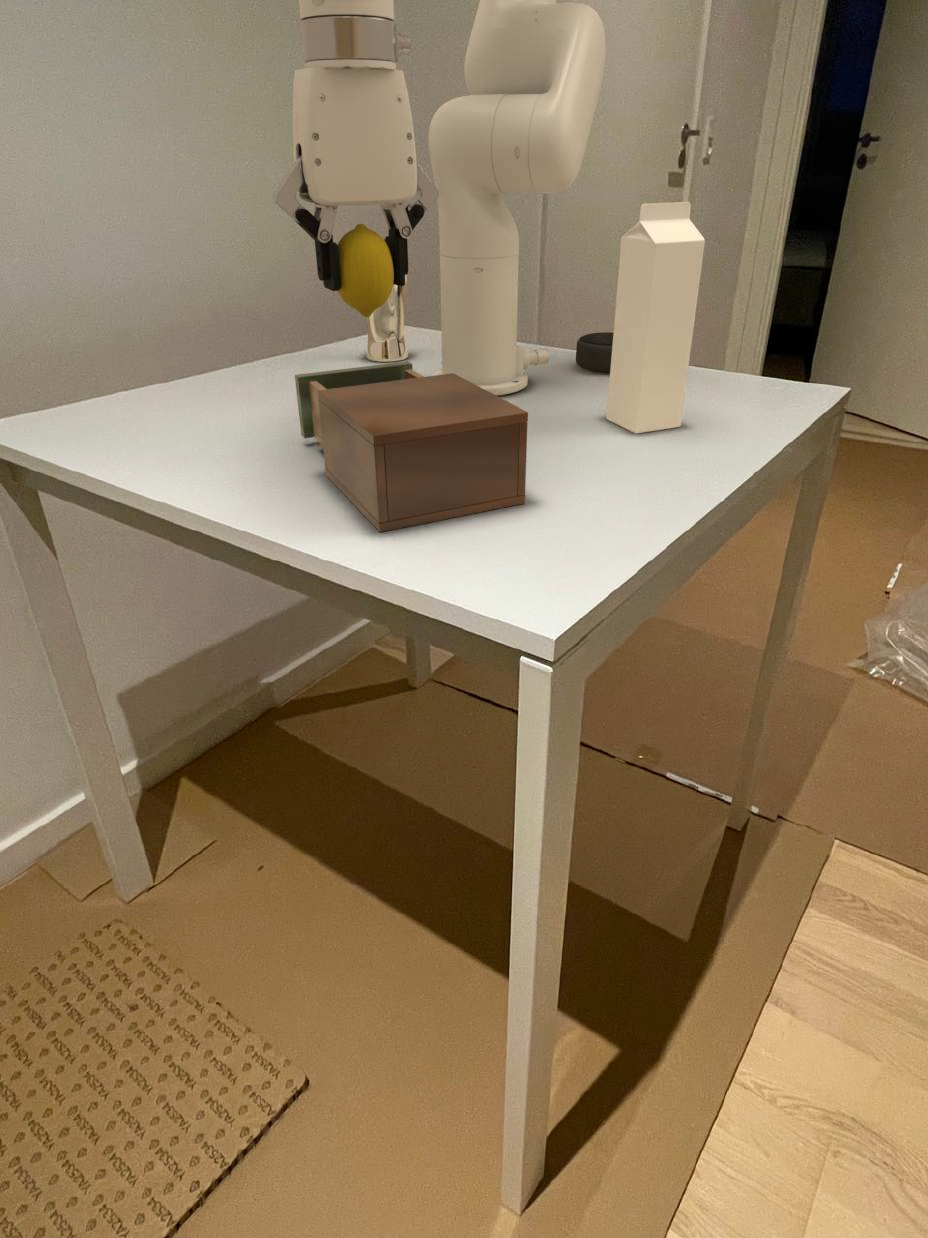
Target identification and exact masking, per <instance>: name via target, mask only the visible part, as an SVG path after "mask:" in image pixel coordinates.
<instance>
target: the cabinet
mask: <svg viewBox="0 0 928 1238" xmlns="http://www.w3.org/2000/svg"><path fill="white" fill-rule="evenodd" d="M318 399H319V410H320V420H321V430H322V440H323V446H322V449H323V460H324V467H325V469H324V471H325V476H326V477H327V478H328V479H329V481H331V482H332V483H333V484H334V486H335V487H336V488H337V489H338V490H339V491H340V492H341V493H342V494H343V495H344V496H345V497H346V498H347V499H348V500H349V501H350V503H352V504H353V506H354V507H355V508H356V509H357V510H358V511H359V512H360V513H361V514H362V516H364V517H365V519H367V520H368V521H369V523H370V524H371V525H372V526H373V527H374V528H375V529H376V530H377V531H378V532H379V533H384V532H388V531H393V530H398V529H403V528H409V527H413V526H418V525H419V526H420V525H424V524H429V523H433V522H438V521H444V520H448V519H454V518H458V517H459V518H460V517H463V516H468V515H474V514H479V513H483V512H489V511H493V510H499V509H504V508H509V507H513V506H518V505H522V504H523V505H525V504H526V481H527V480H526V478H527V477H526V476H527V449H528V422H529V411H527V410H525V409H523V408H521V407H519V406H516V405H515V404H513V403H511V402H509V401H507V400H505V399H504V398H502V397H500V396H499V395H497V396H496V395H494V394H492V393H490V392H488V391H486V390H484V389H482V388H481V387H479V386H477V385H475V384H473V383H471V382H469V381H467V380H465V379H463V378H461V377H460V376H458V375H456V374H454V373H451V374H443V375H435V376H431V375H429V376H428V375H427V376H424V377H420V378H412V379H404V380H396V381H388V382H380V383H372V384H364V385H356V386H349V387H341V388H333V389H325V390H318Z"/></svg>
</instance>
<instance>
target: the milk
mask: <svg viewBox="0 0 928 1238" xmlns="http://www.w3.org/2000/svg"><path fill="white" fill-rule="evenodd" d="M639 208H640V209H639V218H638V221H637V222H636V224H634V225H633V226H632V227H631V228H630V229H629V230H628V231H626V233H624V234H623V235H622V237H621V239H620V248H619V249H620V250H619V262H618V274H617V287H616V297H615V299H616V300H615V311H614V321H613V332H612V333H613V345H612V357H611V369H610V374H609V382H608V396H607V406H606V420H608V421H610V422H612V423H613V424H616V425H617V426H619V427H621V428H623V429H626V430H627V431H629V432H632V433H633V434H642V433H650V432H654V431H662V430H668V429H673V428H674V429H675V428H680V427H681V426H682V418H683V411H684V404H685V396H686V388H687V382H688V381H687V379H688V374H689V366H690V357H691V349H692V342H693V336H694V329H695V328H694V327H695V319H696V313H697V306H698V305H697V304H698V297H699V289H700V281H701V275H702V266H703V259H704V251H705V243H706V240H705V238H704V236H703V235H702V234H701V232H700V231H699V230H698V228H697V227H696V226H695V224H694V223H693V222H692V220H691V210H692V203H691V202H689V201H678V202H677V201H676V202H656V203H655V202H654V203H653V202H652V203H642V204H641V205H640V207H639Z"/></svg>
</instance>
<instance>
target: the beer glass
mask: <svg viewBox="0 0 928 1238" xmlns="http://www.w3.org/2000/svg"><path fill="white" fill-rule="evenodd" d="M408 296H409V273H408V274H407V275H405V285H404V286H397V285H394V284H393V288H392V291H391V294H390V296H389V298H388V299H387V301H386V302H385V303H384V304H383V305H382V306H380V307H378V308H377V309H375V310H374V312H373V313H372V314H371V316H369V317H364V318H365V323H366V329H367V344H366V359H367V360H368V361H372V362H380V363H394V362H401V361H404V360H406V359H407V358H408V357H409V351H408V346H407V343H406V336H405V335H406V334H405V322H406V315H407V314H406V313H407V305H408Z"/></svg>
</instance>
